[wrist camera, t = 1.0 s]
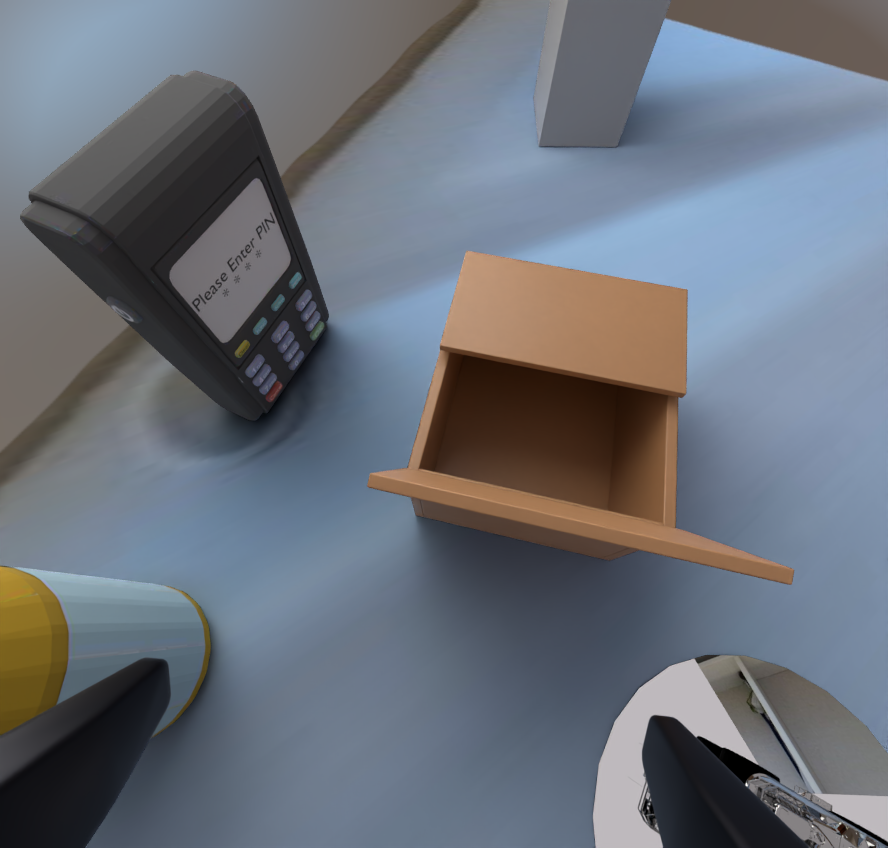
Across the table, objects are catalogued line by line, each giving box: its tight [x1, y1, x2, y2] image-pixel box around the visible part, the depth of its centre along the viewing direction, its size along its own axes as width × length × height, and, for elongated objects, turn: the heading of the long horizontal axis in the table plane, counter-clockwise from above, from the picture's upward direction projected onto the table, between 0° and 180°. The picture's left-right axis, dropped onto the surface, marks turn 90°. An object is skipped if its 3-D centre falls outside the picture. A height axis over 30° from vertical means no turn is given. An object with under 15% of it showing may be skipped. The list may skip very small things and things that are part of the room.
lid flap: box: [367, 468, 794, 585], centre depth 14 cm, size 6×11×1 cm
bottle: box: [0, 566, 211, 738], centre depth 15 cm, size 7×7×15 cm
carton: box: [408, 251, 687, 561], centre depth 23 cm, size 12×11×8 cm
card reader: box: [20, 71, 329, 421], centre depth 22 cm, size 9×4×15 cm, turn 155°
